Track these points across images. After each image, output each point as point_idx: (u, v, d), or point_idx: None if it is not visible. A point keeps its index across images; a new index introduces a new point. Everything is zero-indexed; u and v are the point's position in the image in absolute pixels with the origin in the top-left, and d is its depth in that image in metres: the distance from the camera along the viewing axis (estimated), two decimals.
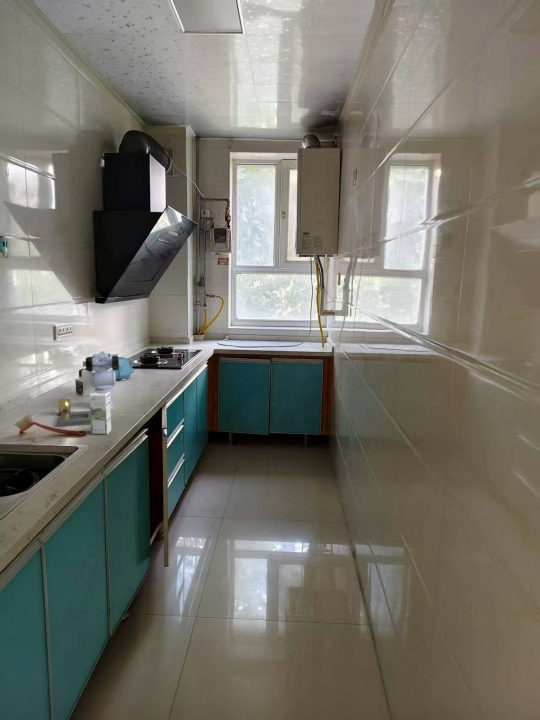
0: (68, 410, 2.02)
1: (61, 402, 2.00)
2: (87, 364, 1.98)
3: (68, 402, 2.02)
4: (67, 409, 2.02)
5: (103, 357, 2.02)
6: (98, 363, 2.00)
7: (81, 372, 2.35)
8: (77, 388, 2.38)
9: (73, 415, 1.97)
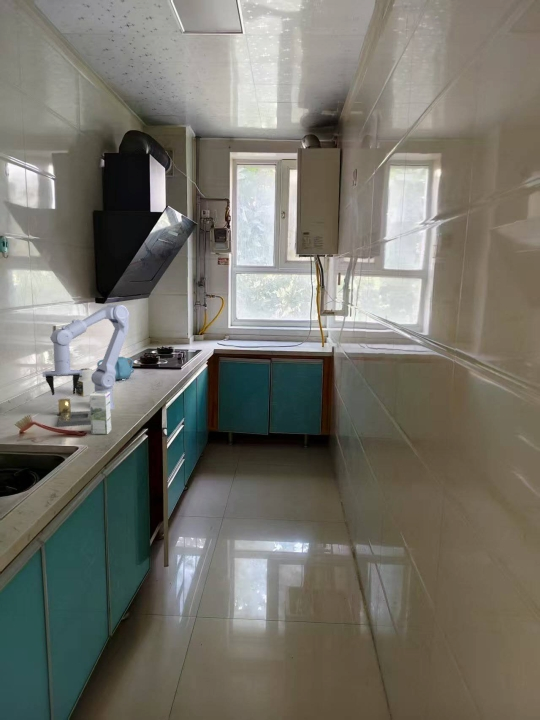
0: (68, 410, 2.02)
1: (61, 402, 2.00)
2: None
3: (68, 402, 2.02)
4: (67, 409, 2.02)
5: None
6: (66, 375, 2.01)
7: None
8: (77, 388, 2.38)
9: (73, 415, 1.97)
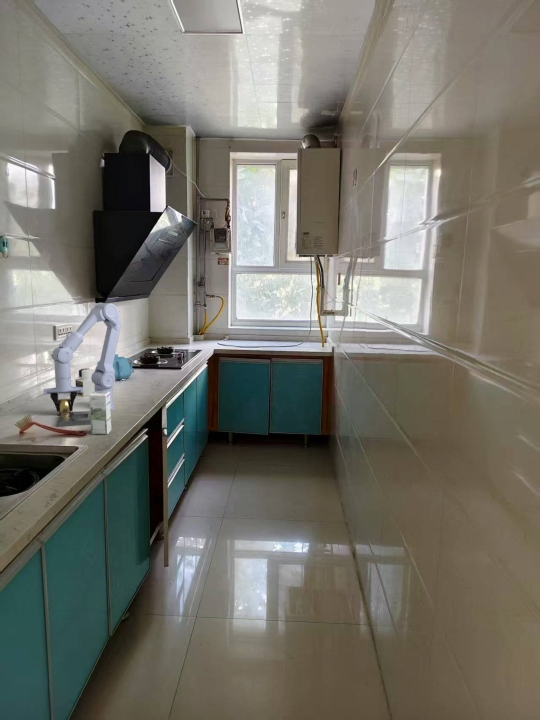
0: (68, 410, 2.02)
1: (61, 402, 2.00)
2: None
3: (68, 402, 2.02)
4: (67, 409, 2.02)
5: None
6: (67, 392, 2.03)
7: (81, 372, 2.35)
8: None
9: (73, 415, 1.97)
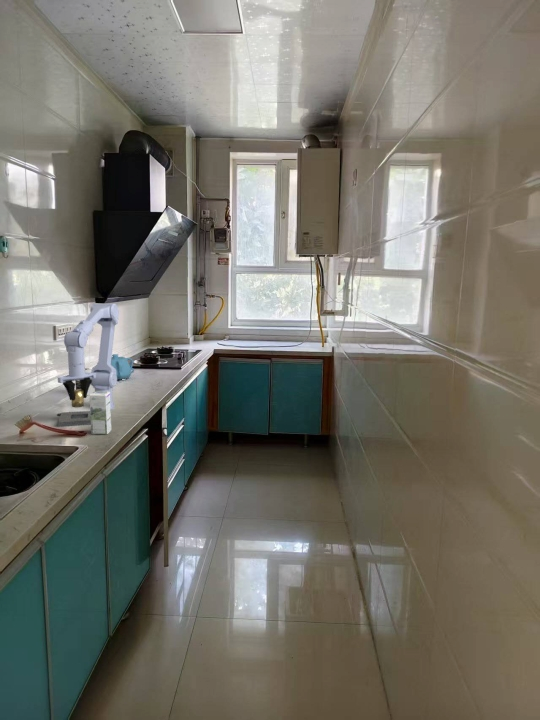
0: (83, 400, 1.95)
1: (78, 393, 1.92)
2: None
3: (83, 392, 1.95)
4: (83, 399, 1.94)
5: None
6: None
7: None
8: (77, 388, 2.38)
9: (73, 415, 1.97)
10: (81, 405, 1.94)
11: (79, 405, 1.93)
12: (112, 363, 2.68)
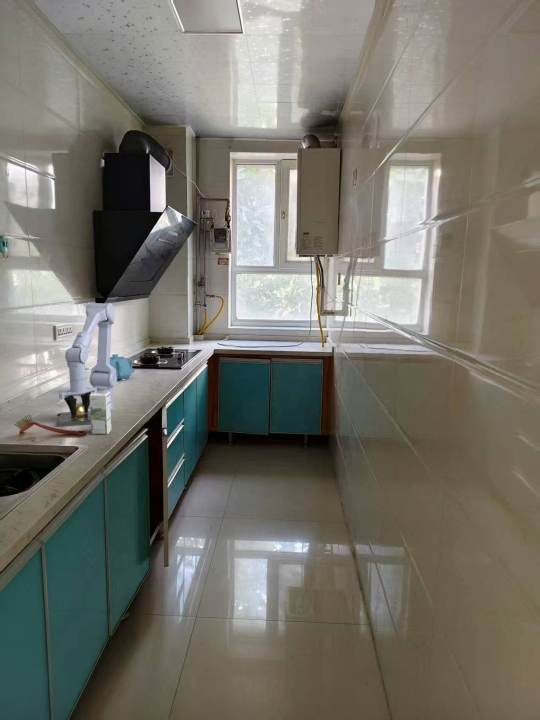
0: (84, 415, 1.96)
1: (79, 408, 1.93)
2: None
3: (84, 407, 1.95)
4: (84, 414, 1.95)
5: None
6: (82, 394, 1.95)
7: None
8: None
9: None
10: None
11: None
12: (112, 363, 2.68)
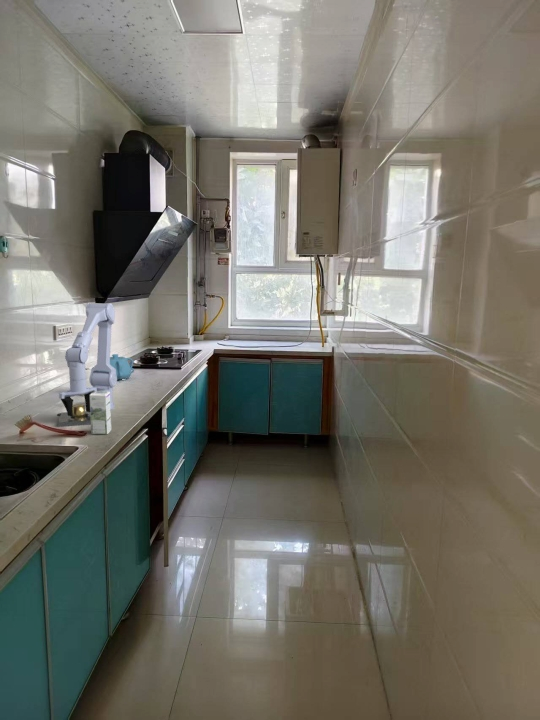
0: (84, 416, 1.96)
1: (79, 408, 1.93)
2: None
3: (84, 407, 1.95)
4: (84, 415, 1.95)
5: None
6: (81, 394, 1.95)
7: None
8: None
9: None
10: None
11: None
12: (112, 363, 2.68)
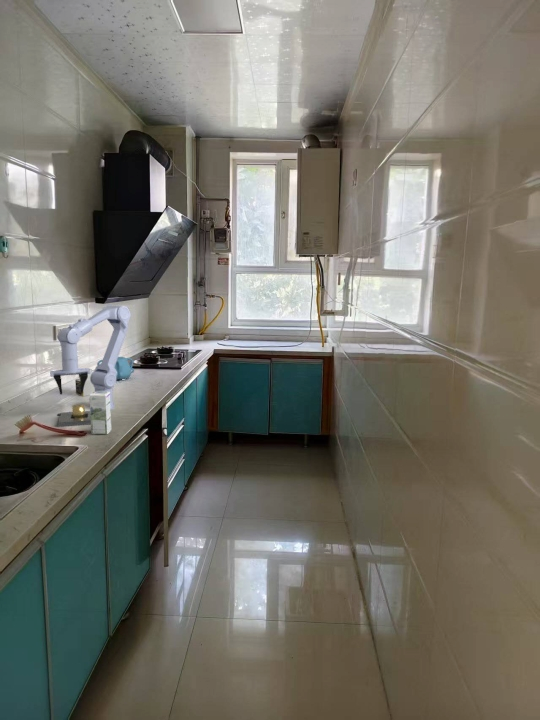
0: (84, 416, 1.96)
1: (79, 408, 1.93)
2: None
3: (84, 407, 1.95)
4: (84, 415, 1.95)
5: None
6: None
7: None
8: (77, 388, 2.38)
9: None
10: None
11: None
12: None
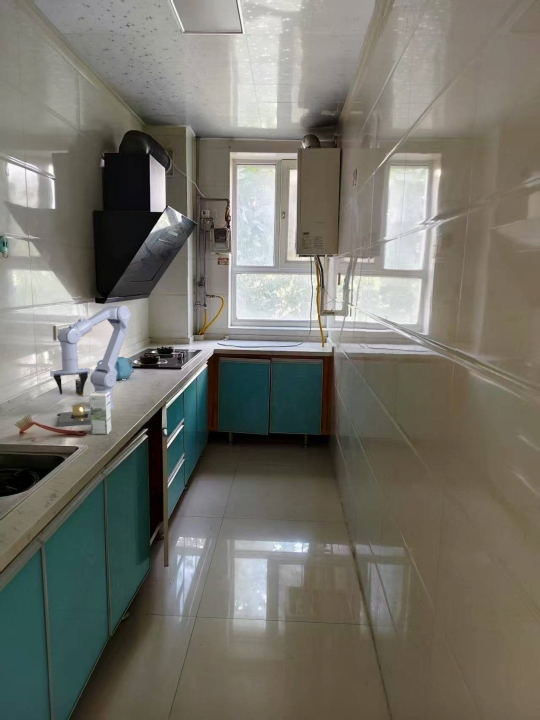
0: (84, 416, 1.96)
1: (79, 408, 1.93)
2: None
3: (84, 407, 1.95)
4: (84, 415, 1.95)
5: None
6: None
7: None
8: (77, 388, 2.38)
9: None
10: None
11: None
12: None
